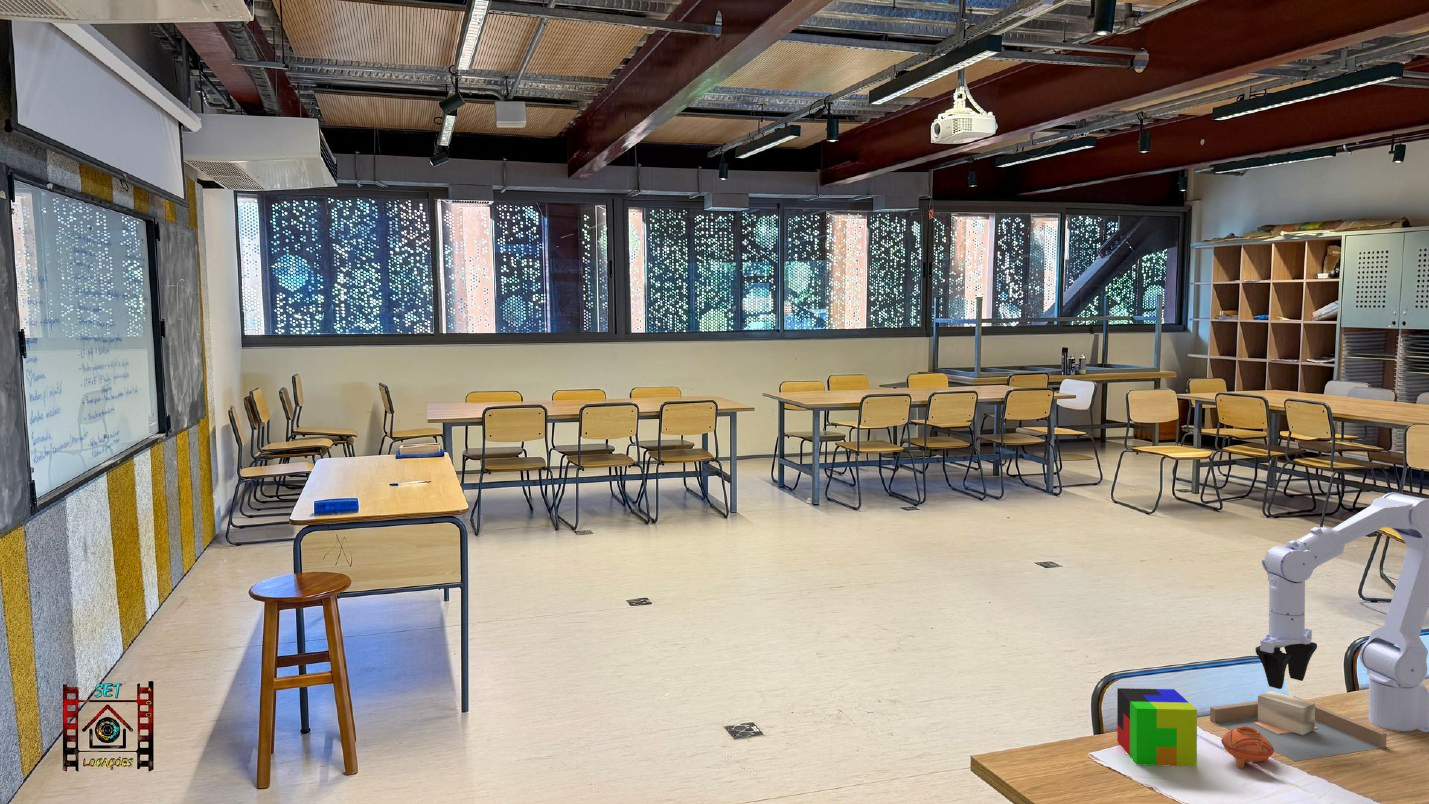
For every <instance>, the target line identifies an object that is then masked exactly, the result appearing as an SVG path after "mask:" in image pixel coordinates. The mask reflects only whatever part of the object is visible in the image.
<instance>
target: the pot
mask: <svg viewBox="0 0 1429 804" xmlns="http://www.w3.org/2000/svg"><path fill="white" fill-rule="evenodd" d="M1220 741H1221V744H1222V746H1223V748H1225V750H1226V751H1227V752H1228V753H1229V754H1230V755H1231V756H1233V757H1234V758H1235V761H1236V765H1237V767H1238V769H1240V770H1241V769H1243V768H1244V766H1245V763H1246V762H1248V763H1259V762H1260V763H1261V762H1268V761H1269V758H1270V757H1272V755H1273V754H1274V748H1273V746H1272V745H1271V743H1270V742H1269V741H1268V740H1267V739H1266V738H1265V737H1264V736H1263V735H1261V734H1260V731H1258V730H1257V729H1254V728H1251V727H1246V726H1241V727H1236V729H1233V730H1229V731H1227V732H1226V733H1225V734H1224V735H1222V737H1221V739H1220Z"/></svg>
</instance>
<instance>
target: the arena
mask: <svg viewBox="0 0 1429 804" xmlns="http://www.w3.org/2000/svg"><path fill="white" fill-rule="evenodd" d="M1292 697H1294V698H1298V699H1301V700H1304V699H1302V698H1300V697H1297V696H1296V695H1295V696H1292ZM1209 709H1210V710H1209V712H1210V713H1209V720H1210V721H1211V723H1212V722H1213V723H1214V724H1217V725H1219V726H1221V727H1223V728H1225V729H1226V730H1227V729H1228V730H1229V731H1231V730H1233V729H1236V727H1241V726H1246V727H1251V728H1254V729H1257V730H1258V731H1260V734H1261V735H1263V736H1264V737H1265V738H1266V739H1267V740H1268V741H1269V742H1270V743H1271V745H1272V746H1273V748H1274V752H1275V753H1277V754H1279V755H1280V756H1283V757H1285V758H1287V759H1288V760H1289V759H1290V760H1291V761H1294V762H1299V761H1306V760H1312V759H1313V760H1314V759H1319V758H1325V757H1333V756H1338V755H1339V756H1340V755H1346V754H1353V753H1359V752H1365V751H1374V750H1377V749H1378V750H1379V749H1385V748H1387V737H1388V736H1387V732H1384V731H1381V730H1380V729H1377V728H1374V727H1372V726H1370V725H1367V724H1364V723H1361V722H1359V721H1357V720H1355V719H1352V718H1350V717H1347V716H1344V715H1342V714H1340V713H1337V712H1335V711H1332V710H1330V709H1327V708H1324V707H1323V706H1320V705H1317V704H1315V730H1313V731H1311V732H1309V733H1307V734H1304V735H1300V734H1297V733H1294V732H1291V731H1287V730H1284V729H1281V728H1278V727H1275V726H1271V725H1268V724H1265V723H1262V722H1258V700H1256V701H1249V702H1242V703H1240V702H1239V703H1232V704H1226V705H1219V706H1211V707H1209Z"/></svg>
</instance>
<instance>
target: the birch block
mask: <svg viewBox="0 0 1429 804" xmlns="http://www.w3.org/2000/svg"><path fill="white" fill-rule="evenodd" d="M1298 698H1299V697H1298ZM1298 698H1294V697H1293V696H1291V695H1286V694H1283V693H1279V692H1275V691H1272V690H1269V691H1265V692H1264V693H1260V694H1258V695H1257V701H1258V722H1262V723H1265V724H1268V725H1271V726H1275V727H1278V728H1281V729H1284V730H1287V731H1291V732H1294V733H1297V734H1300V735H1304V734H1307V733H1309V732H1311V731H1313V730H1315V705H1316V703H1315V702H1311V701H1308V700H1305V699H1303V700H1301V699H1302V698H1300V699H1298Z"/></svg>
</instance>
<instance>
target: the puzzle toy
mask: <svg viewBox="0 0 1429 804" xmlns="http://www.w3.org/2000/svg"><path fill="white" fill-rule="evenodd" d="M1116 690H1117V693H1116V694H1117V695H1116V696H1117V704H1116V705H1117V712H1116V713H1117V715H1116V717H1117V721H1116V724H1117V725H1116V726H1117V728H1116V730H1117V731H1116V732H1117V733H1116V734H1117V736H1116V740H1117V743H1118V744H1119V745H1120V747H1123V748H1124V749H1125V750H1124V749H1123V748H1122V749H1123V750H1124V752H1125V753H1126V752H1127V753H1128V754H1129V755H1130V756H1129V755H1128V754H1127V753H1126V754H1127V755H1128V756H1129V757H1130V758H1132V759H1133V760H1134V761H1135V762H1134V761H1133V760H1132V759H1131V760H1132V761H1133V762H1134V763H1136V764H1147V765H1146V766H1162V765H1169V767H1170V766H1171V767H1178V766H1179V767H1198V766H1197V765H1198V709H1197V708H1196V707H1195V706H1193V704H1191V703H1190V702H1189V701H1188V700H1187V699H1186V698H1184V696H1183V695H1181V694H1180V693H1179V692H1178V691H1177V690H1176V689H1174V688H1134V687H1133V688H1132V687H1131V688H1129V687H1126V688H1123V687H1122V688H1120V687H1118V688H1117V689H1116ZM1136 764H1135V765H1136ZM1148 764H1149V765H1148Z"/></svg>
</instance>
